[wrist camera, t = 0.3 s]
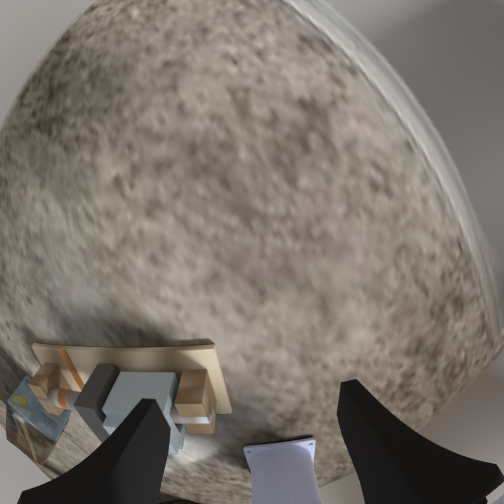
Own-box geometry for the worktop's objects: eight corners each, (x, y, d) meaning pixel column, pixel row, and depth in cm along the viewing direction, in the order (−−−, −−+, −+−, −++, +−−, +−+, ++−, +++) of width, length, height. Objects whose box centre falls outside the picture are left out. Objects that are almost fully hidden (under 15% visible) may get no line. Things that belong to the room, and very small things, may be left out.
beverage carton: (76, 411, 23) (56, 448, 17) (54, 443, 27) (42, 469, 21) (27, 370, 22) (1, 403, 15) (19, 415, 26) (4, 439, 19)
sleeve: (174, 372, 19) (159, 426, 14) (189, 408, 21) (180, 458, 15) (120, 371, 19) (97, 418, 14) (139, 406, 21) (123, 452, 15)
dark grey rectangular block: (115, 364, 19) (92, 408, 14) (137, 405, 21) (122, 448, 16) (97, 363, 19) (72, 405, 14) (120, 404, 21) (103, 444, 16)
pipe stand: (215, 344, 20) (209, 385, 15) (232, 408, 22) (231, 446, 18) (34, 342, 20) (12, 367, 16) (66, 397, 22) (50, 423, 18)
